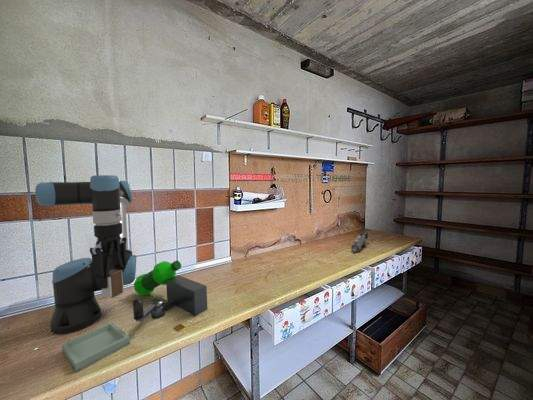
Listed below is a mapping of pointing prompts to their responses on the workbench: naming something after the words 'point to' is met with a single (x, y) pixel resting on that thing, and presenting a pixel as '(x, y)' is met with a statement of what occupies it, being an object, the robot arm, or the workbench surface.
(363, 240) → the hydraulic cylinder
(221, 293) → the workbench surface
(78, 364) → the tray
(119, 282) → the wooden block
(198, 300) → the stand
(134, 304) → the crank
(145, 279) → the plastic bottle
